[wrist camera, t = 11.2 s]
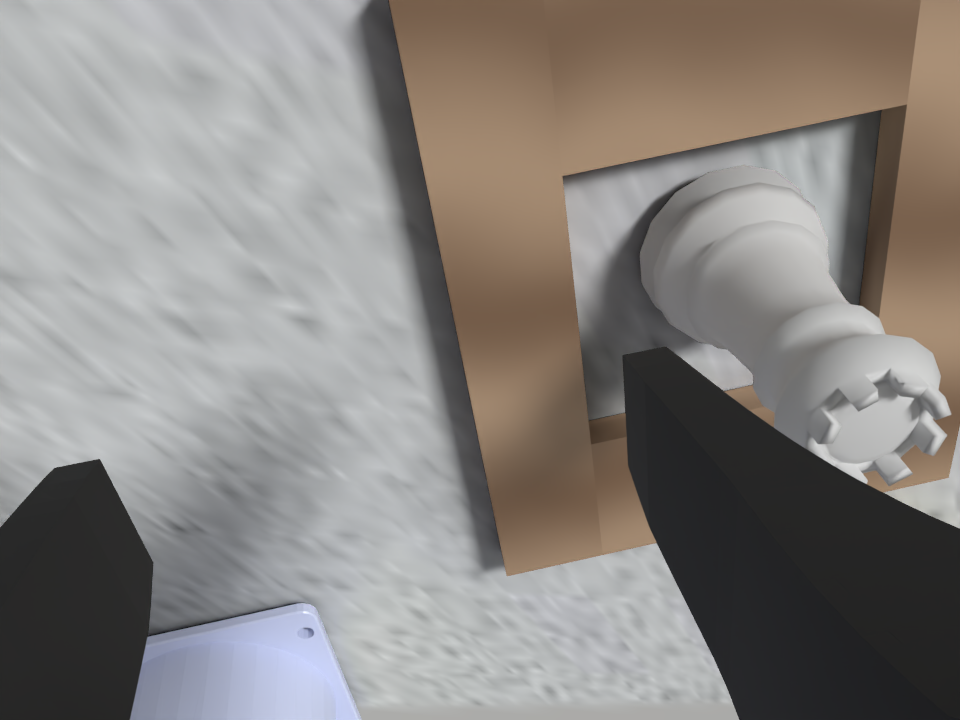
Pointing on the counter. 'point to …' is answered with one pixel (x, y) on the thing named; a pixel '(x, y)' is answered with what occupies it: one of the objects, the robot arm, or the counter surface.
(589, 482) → the walnut socket board
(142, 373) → the counter surface
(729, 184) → the rook chess piece
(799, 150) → the counter surface
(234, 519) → the counter surface
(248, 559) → the counter surface
